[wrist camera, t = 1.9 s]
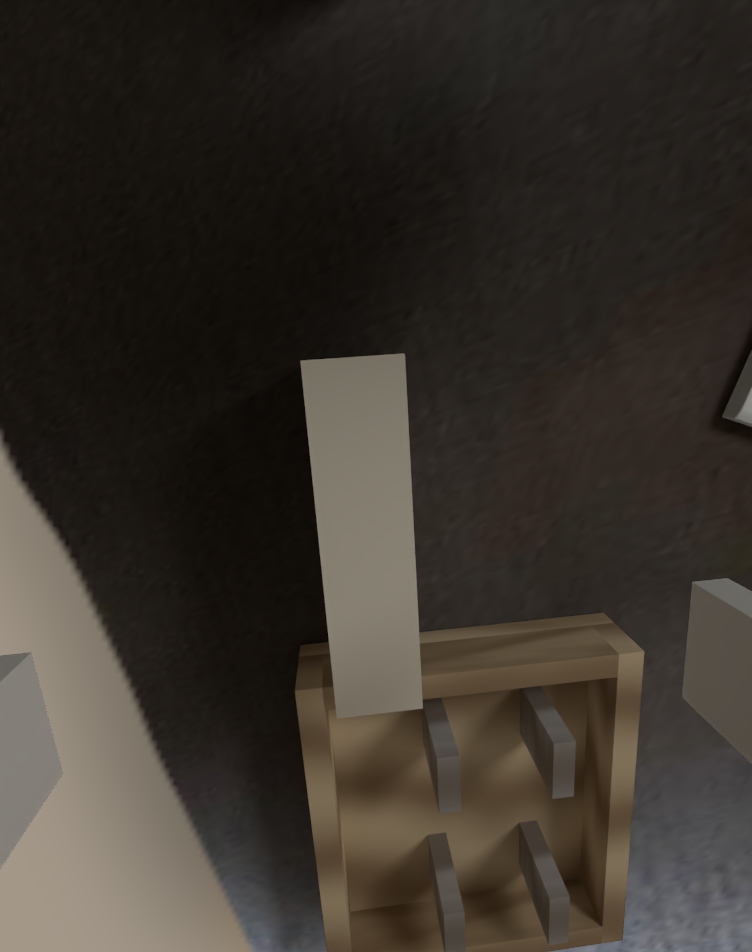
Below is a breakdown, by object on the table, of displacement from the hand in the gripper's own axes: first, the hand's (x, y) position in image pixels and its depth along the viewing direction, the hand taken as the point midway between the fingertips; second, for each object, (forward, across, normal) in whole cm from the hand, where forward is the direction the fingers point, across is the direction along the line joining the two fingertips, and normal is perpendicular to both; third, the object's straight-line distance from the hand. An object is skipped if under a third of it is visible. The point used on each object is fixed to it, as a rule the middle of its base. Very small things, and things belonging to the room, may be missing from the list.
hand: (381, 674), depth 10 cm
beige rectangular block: (+14, 0, 0) cm, 14 cm away
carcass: (+14, +5, -17) cm, 22 cm away
